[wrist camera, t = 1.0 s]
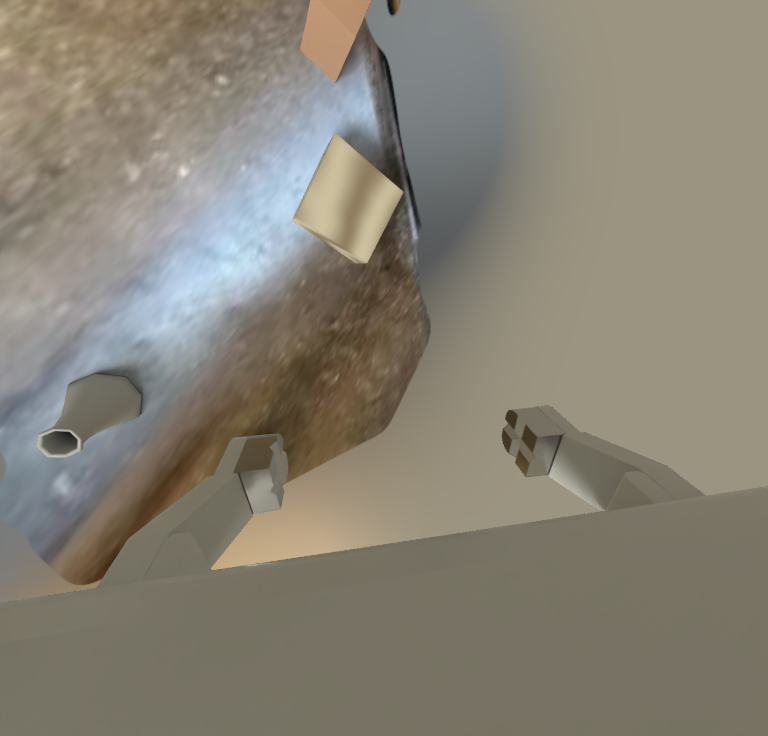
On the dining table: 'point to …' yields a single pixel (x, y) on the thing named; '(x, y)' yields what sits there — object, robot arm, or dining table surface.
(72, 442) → the flask
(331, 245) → the birch block
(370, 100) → the dining table surface
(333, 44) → the terracotta block
